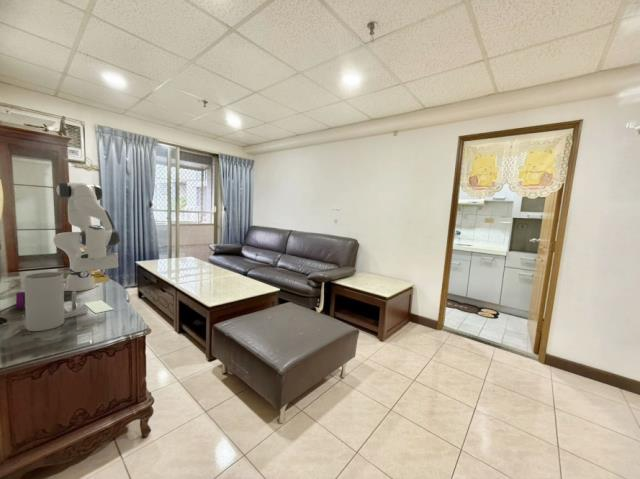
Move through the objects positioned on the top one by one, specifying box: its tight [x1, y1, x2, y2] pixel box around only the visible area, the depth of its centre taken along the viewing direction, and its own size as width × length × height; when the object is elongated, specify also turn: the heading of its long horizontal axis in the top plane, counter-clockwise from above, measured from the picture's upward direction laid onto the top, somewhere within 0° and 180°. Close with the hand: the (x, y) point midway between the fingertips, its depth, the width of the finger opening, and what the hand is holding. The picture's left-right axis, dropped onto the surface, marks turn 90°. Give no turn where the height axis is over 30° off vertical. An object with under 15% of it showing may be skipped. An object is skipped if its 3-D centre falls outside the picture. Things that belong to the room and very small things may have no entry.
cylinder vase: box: [23, 271, 65, 332], centre depth 121 cm, size 12×12×25 cm
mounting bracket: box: [15, 291, 25, 311], centre depth 144 cm, size 9×8×18 cm
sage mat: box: [83, 299, 114, 315], centre depth 148 cm, size 20×8×1 cm, turn 56°
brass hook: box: [90, 270, 110, 284], centre depth 147 cm, size 16×6×6 cm, turn 56°
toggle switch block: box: [64, 291, 89, 319], centre depth 139 cm, size 18×9×12 cm, turn 56°
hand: (96, 277), depth 148 cm, fingers closed on brass hook, 3 cm apart
